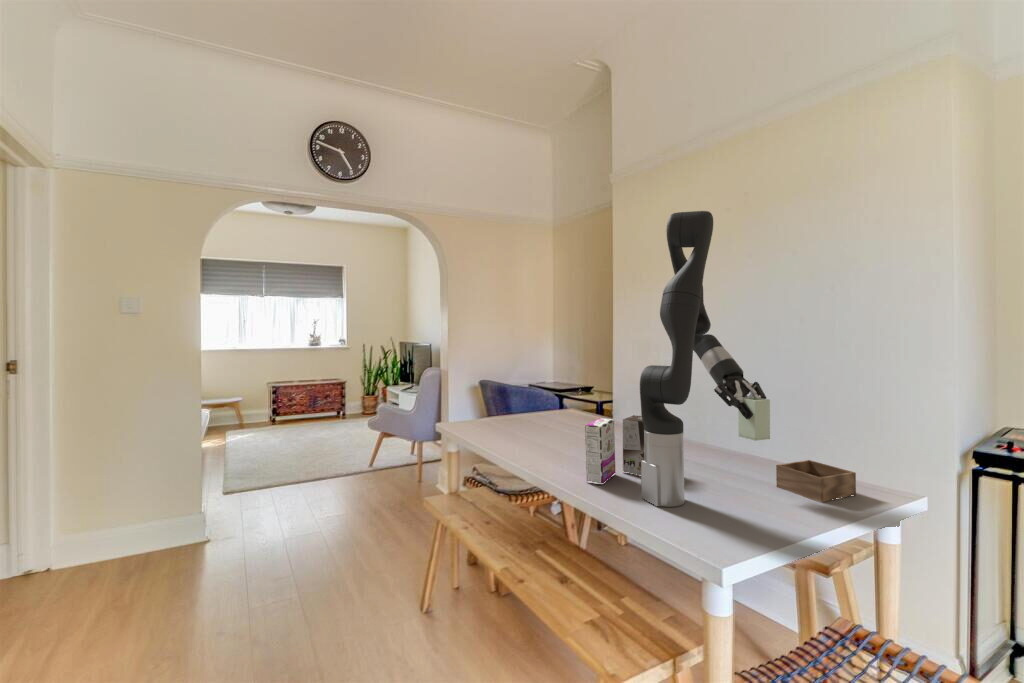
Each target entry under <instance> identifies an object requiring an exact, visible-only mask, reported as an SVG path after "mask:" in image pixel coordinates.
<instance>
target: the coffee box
mask: <svg viewBox="0 0 1024 683" xmlns="http://www.w3.org/2000/svg"><path fill="white" fill-rule="evenodd" d="M642 460H644V423H643V420H642V415H634V414H633V415H631V416H629V417H625V418H623V419H622V472H623V471H624V472H629V473H633V474H637V475H641V461H642ZM637 475H636V476H637Z"/></svg>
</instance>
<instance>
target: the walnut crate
mask: <svg viewBox="0 0 1024 683" xmlns="http://www.w3.org/2000/svg"><path fill="white" fill-rule="evenodd" d="M775 476H776V488H778V489H782V490H785V491H787V490H788V492H790V491H791V492H790V493H792V494H793V493H794V494H797V495H799V496H801V495H802V497H803V498H807V499H811V500H813V501H816V502H818V501H820V502H819V503H821V502H822V503H825V502H824V501H827V502H829V501H828V500H832V499H836V498H841V497H847V496H851V495H856V494H857V477H856V476H857V473H856V472H854V471H851V470H847V469H844V468H841V467H836V466H832V465H829V464H825V463H822V462H817V461H813V460H810V459H806V460H800V461H794V462H787V463H780V464H776V474H775ZM856 496H857V495H856ZM847 498H848V497H847ZM832 501H833V500H832Z"/></svg>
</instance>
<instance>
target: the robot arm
mask: <svg viewBox="0 0 1024 683" xmlns="http://www.w3.org/2000/svg"><path fill="white" fill-rule="evenodd" d="M665 232H666V242H667V247H668V251H669V255H670V260H671V265H672V270H673V273H674V275H673V277H672V278H671V279H670V280H669V282H668V283H667V284H666V286H665V287H664V289H663V291H662V296H661V302H660V307H659V317H660V321H661V323H662V326H663V329H664V330H665V332H666V334H667V336H668V338H669V341H670V343H671V347H672V349H671V350H672V351H671V352H672V356H671V357H672V358H671V364H670V365H653V364H652V365H647V366H645V367H644V368H643V370H642V372H641V374H640V378H639V397H640V399H639V400H640V412H641V414H640V416H642V420H643V423H644V460H642V461H641V476H640V477H641V478H640V479H641V480H640V482H641V485H640V486H641V488H640V489H641V493H640V494H641V499H642V498H643V499H642V500H644V499H645V500H644V501H646V500H647V501H646V502H648V503H649V502H650V503H649V504H651V503H652V504H651V505H653V504H654V505H653V506H655V507H657V506H658V507H666V508H668V507H679V506H682V505H684V503H685V452H684V451H685V447H684V445H685V444H684V443H685V441H684V440H685V439H684V437H685V436H684V435H685V434H684V433H685V432H684V421H683V420H682V419H681V418H680V417H678V416H676V415H674V414H673V413H671V412H670V411H669V410H668V409H667V408H666V406H665V404H666V405H675V406H676V405H677V406H680V405H683V404H684V403H686V402H687V401H688V398H689V395H690V392H691V386H692V374H693V373H692V372H693V360H694V359H693V355H694V353H695V354H696V355H697V357H698V359H700V361H701V363H702V365H703V367H704V368H705V370H706V371H707V373H708V374H709V376H710V377H711V378H712V379H713V381H714V383H715V384H716V385H717V386H716V387H715V388H714V390H713V391H714V392H715V393H716V394H717V395H718V397H719V398H721V400H722V401H723V402H724V403H725V404H726V405H727V406H728V407H732V406H733V407H735V409H737V410H738V409H739V410H738V412H739V411H740V412H741V414H742V415H743V416H744V417H745V418H746V419H750V418H751V417H752V416H753V413H752V412H751V410H750V409H749V408H748V406H747V405H746V403H743V402H744V401H743V398H749V397H754V398H762V399H767V396H766V394H765V392H764V391H763V389H762V387H761V385H760V383H759V382H757V381H754V382H753V383H752V382H750V381H748V380H747V379H746V378H745V377H744V370H743V369H742V368H741V365H739V364H738V362H737V361H736V360H735V359H734V357H733V356H732V355H731V354H730V352H729V351H728V350H726V348H725V347H724V346H723V344H721V342H720V341H719V340H718V339H717V337H716V336H715V335H713V334H708V332H709V331H710V330H711V325H712V324H711V321H710V318H709V315H708V313H707V310H706V306H705V303H704V285H703V284H704V275H705V269H706V264H707V260H708V255H709V250H710V246H711V242H712V236H713V232H714V215H713V214H712V212H710V211H708V210H696V211H695V210H694V211H692V210H691V211H682V212H680V211H678V212H673V213H671V214H670V215H669V217H668V220H667V223H666V231H665ZM684 248H693V250H692V252H691V253H690V255H689V258H688V259H687V258H686V255H685V252H684Z"/></svg>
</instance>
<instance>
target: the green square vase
mask: <svg viewBox="0 0 1024 683" xmlns="http://www.w3.org/2000/svg"><path fill="white" fill-rule="evenodd" d="M743 401H744V402H743V403H746V405H747V406H748V408H749V409H750V410H751V412H752V413H753V416H752V417H751V418H750V419H746V418H745V417H744V416H743V415H742V414H741V412H740V411H739V409H738V408H737V410H738V438H743V439H745V440H751V441H764V440H765V441H766V440H770V439H771V400H770V399H767V398H766V399H762V398H754V397H749V398H743Z"/></svg>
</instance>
